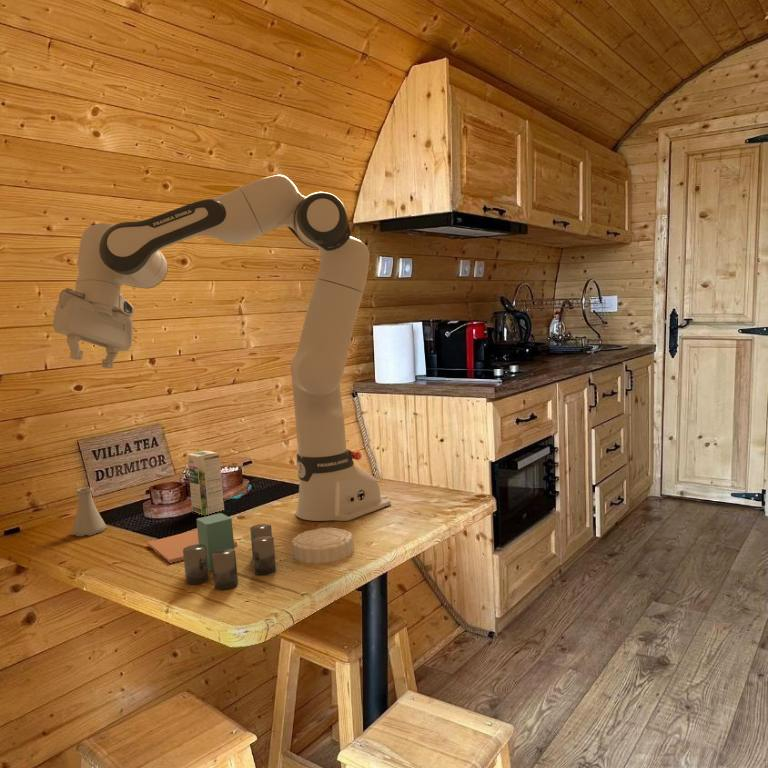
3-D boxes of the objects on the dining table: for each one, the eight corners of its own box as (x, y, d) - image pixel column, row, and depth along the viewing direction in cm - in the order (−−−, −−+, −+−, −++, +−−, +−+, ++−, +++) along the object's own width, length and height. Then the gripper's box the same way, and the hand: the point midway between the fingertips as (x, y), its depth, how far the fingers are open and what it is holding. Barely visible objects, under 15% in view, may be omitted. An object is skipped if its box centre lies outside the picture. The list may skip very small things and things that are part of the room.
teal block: (225, 557, 138) (221, 512, 136) (235, 564, 133) (231, 518, 132) (200, 564, 135) (196, 518, 134) (210, 571, 131) (206, 524, 130)
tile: (211, 529, 155) (210, 526, 155) (237, 545, 144) (236, 541, 144) (147, 545, 147) (147, 542, 147) (169, 563, 136) (169, 559, 136)
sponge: (258, 485, 189) (239, 482, 191) (235, 498, 178) (215, 495, 179) (258, 491, 189) (239, 487, 191) (235, 504, 178) (215, 500, 180)
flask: (93, 537, 155) (88, 493, 154) (64, 537, 157) (59, 493, 155) (112, 526, 162) (108, 484, 161) (84, 526, 164) (79, 485, 162)
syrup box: (191, 513, 169) (185, 454, 167) (212, 506, 173) (206, 449, 172) (204, 516, 165) (198, 456, 164) (225, 510, 169) (220, 451, 168)
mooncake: (280, 555, 137) (278, 538, 137) (327, 538, 146) (326, 521, 145) (319, 569, 129) (317, 551, 128) (366, 550, 137) (365, 533, 137)
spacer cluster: (267, 551, 139) (265, 522, 138) (297, 568, 129) (294, 537, 129) (179, 577, 129) (175, 545, 128) (203, 597, 119) (200, 563, 118)
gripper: (74, 283, 138) (68, 352, 136) (139, 310, 157) (135, 371, 155) (48, 286, 140) (42, 354, 138) (115, 312, 159) (111, 373, 157)
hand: (92, 363), depth 146 cm, fingers open, 8 cm apart
